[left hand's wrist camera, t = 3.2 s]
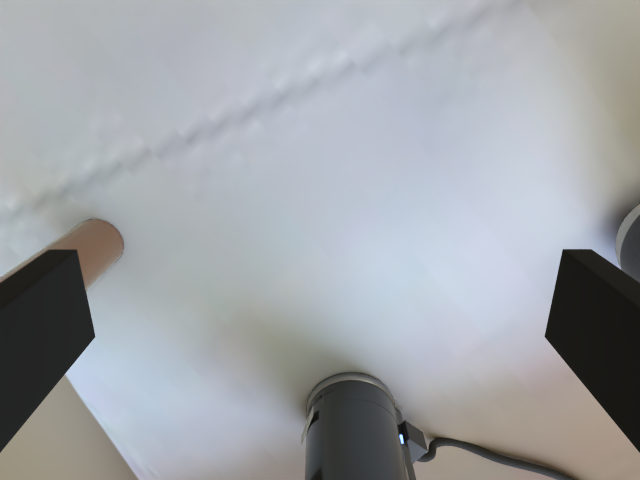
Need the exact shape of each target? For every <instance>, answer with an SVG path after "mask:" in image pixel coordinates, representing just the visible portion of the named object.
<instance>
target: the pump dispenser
mask: <svg viewBox="0 0 640 480" xmlns="http://www.w3.org/2000/svg"><path fill="white" fill-rule="evenodd" d="M615 249H616V256H617V260H618V263H619V265H620V267H621V270H622V271H623V272H625V273H626V274H628V275H629V276H631V277H632V278H634V279H635V280H636V281H638V282H639V283H640V204H639V205H637V206H636V207H635V208H634V209H633V210H632V211H631V212H630V213H629V214H628V215H627V216H626V218H625V219H624V221H623V222H622V224H621V226H620V228H619V230H618V233H617V237H616V244H615Z"/></svg>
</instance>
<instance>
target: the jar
mask: <svg viewBox="0 0 640 480" xmlns="http://www.w3.org/2000/svg"><path fill="white" fill-rule="evenodd" d="M49 249H77V251H78V256H79V261H80V266H81V270H82V275H83V280H84V285H85V290H87V289H88V288H89V287H90V286H91V285H93V284H94V283H95V282H96V281H97V280H98V279H99V278H100V277H101V276H102V275H103V274H104V273H105V272H106V271H107V270H108V269H109V268H110V267H111V266H112V265H113V264H114V263H115V262H116V261H117V260H118V259H119V258H120V257H121V255H122V253H123V249H124V244H123V239H122V237H121V235H120V233H119V231H118V230H117V229H116V228H115V227H114V226H113V225H111V224H110V223H108V222H106V221H103V220H98V219H90V220H86V221H84V222H82V223H80V224H79V225H77V226H76V227H74V228H73V229H71V230H70V231H68V232H67V233H65V234H64V235H62V236H61V237H59V238H58V239H56V240H55V241H53V242H52V243H50V244H49V245H47V246H46V247H45V248H43V249H42V250H40V251H39V252H37V253H36V254H34V255H33V256H31V257H30V258H28V259H27V260H25V261H24V262H22V263H21V264H19V265H18V266H16V267H15V268H13V269H12V270H10V271H9V272H7V273H6V274H4V275H3V276H1V277H0V283H1V282H2V281H4V280H5V279H6V278H8V277H9V276H11V275H12V274H14V273H15V272H17V271H18V270H20V269H21V268H22V267H24V266H25V265H27V264H28V263H30V262H31V261H33V260H34V259H36V258H37V257H38V256H40V255H41V254H43V253H44V252H46V251H47V250H49Z"/></svg>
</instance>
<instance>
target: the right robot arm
mask: <svg viewBox="0 0 640 480" xmlns="http://www.w3.org/2000/svg"><path fill="white" fill-rule="evenodd" d="M306 417H307V423H306V426H305V428H304V431H303V433H302V442H303V440H304V437H305V435H306V432H307V435H306V464H305V480H416V477H415V473H414V468H413V463H414V462H416V461H419V462H428V461H430V460H432V459H434V457H435V455H436V448H437V447H440V446H455V447H459V448H462V449H465V450H468V451H470V452H473V453H475V454H478V455H480V456H482V457H485V458H487V459H489V460H492V461H495V462H498V463H501V464H504V465H508V466H512V467H516V468H520V469H524V470H528V471H532V472H536V473H540V474H543V475H546V476H549V477H552V478H555V479H557V480H574V479H573V478H571V477H569V476H567V475H565V474H562V473H560V472H558V471H555V470H552V469H549V468H546V467H543V466H540V465H536V464H532V463H528V462H524V461H520V460H516V459H512V458H509V457H505V456H501V455H498V454H496V453H493V452H490V451H488V450H485V449H483V448H481V447H478V446H476V445H473V444H470V443H467V442H462V441H458V440H453V439H448V438H439V439H436V440H433V441H431V442H430V444H429V450H427V446H426V443H425V439H424V436H423V432H421V431H420V430H418V429H417V428H416V427H414V426H413V425H411V424H410V423H408V422H407V421H404V422H403V421H402V416H401V412H400V411H399V410H398V409H396V408H395V404H394V400H393V397H392V395H391V393H390V391H389V390H388V388H387V387H386V386H385V385H384V384H383V383H381V382H380V381H379V380H377V379H375V378H373V377H371V376H368V375H365V374H360V373H344V374H339V375H335V376H332V377H330V378H328V379H326V380H324V381H323V382H321V383H320V384H319V385H318V386H317V387H316V388H315V389H314V390H313V391H312V393H311V394H310V396H309V399H308V402H307V413H306ZM301 445H302V443H301ZM427 451H428V452H427ZM426 452H427V453H426Z"/></svg>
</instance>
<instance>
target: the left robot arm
mask: <svg viewBox="0 0 640 480" xmlns="http://www.w3.org/2000/svg"><path fill="white" fill-rule="evenodd" d="M94 338H95V333H94V328H93V323H92V318H91V314H90V309H89V304H88V299H87V294H86V290H85V285H84V280H83V275H82V270H81V266H80V261H79V256H78V251H77V249H49V250H47V251H46V252H44V253H43V254H41V255H40V256H38V257H37V258H36V259H34V260H33V261H31V262H30V263H28V264H27V265H25V266H24V267H22V268H21V269H20V270H18V271H17V272H15V273H14V274H12V275H11V276H9V277H8V278H6V279H5V280H4V281H2V282H1V283H0V452H1V451H2V450H3V448H4V447H5V446H6V445H7V444H8V442H9V441H10V440H11V439H12V438H13V436H14V435H15V434H16V433H17V431H18V430H19V429H20V428H21V427H22V425H23V424H24V423H25V422H26V421H27V419H28V418H29V417H30V416H31V414H32V413H33V412H34V411H35V410H36V408H37V407H38V406H39V405H40V403H41V402H42V401H43V400H44V399H45V397H46V396H47V395H48V394H49V392H50V391H51V390H52V389H53V388H54V386H55V385H56V384H57V383H58V381H59V380H60V379H61V378H62V377H63V375H64V374H65V373H66V372H67V371H68V369H69V368H70V367H71V366H72V364H73V363H74V362H75V361H76V360H77V358H78V357H79V356H80V355H81V354H82V352H83V351H84V350H85V349H86V347H87V346H88V345H89V344H90V343H91V341H92V340H93V339H94ZM545 338H546V339H547V340H548V341H549V343H550V344H551V345H552V346H553V347H554V349H555V350H556V351H557V352H558V354H559V355H560V356H561V357H562V358H563V360H564V361H565V362H566V363H567V364H568V366H569V367H570V368H571V369H572V371H573V372H574V373H575V374H576V375H577V377H578V378H579V379H580V380H581V382H582V383H583V384H584V385H585V386H586V388H587V389H588V390H589V391H590V393H591V394H592V395H593V396H594V397H595V399H596V400H597V401H598V402H599V403H600V405H601V406H602V407H603V408H604V410H605V411H606V412H607V413H608V414H609V416H610V417H611V418H612V419H613V421H614V422H615V423H616V424H617V425H618V427H619V428H620V429H621V430H622V432H623V433H624V434H625V435H626V436H627V438H628V439H629V440H630V441H631V442H632V444H633V445H634V446H635V447H636V449H637V450H638V451H639V452H640V283H639V282H638V281H636V280H635V279H634V278H632V277H631V276H629V275H628V274H626V273H625V272H623V271H622V270H620V269H619V268H618V267H616V266H615V265H613V264H612V263H610V262H609V261H607V260H606V259H604V258H603V257H602V256H600V255H599V254H597V253H596V252H594V251H593V250H591V249H563V251H562V256H561V261H560V266H559V270H558V275H557V280H556V285H555V290H554V294H553V299H552V304H551V309H550V314H549V318H548V323H547V328H546V333H545Z"/></svg>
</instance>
